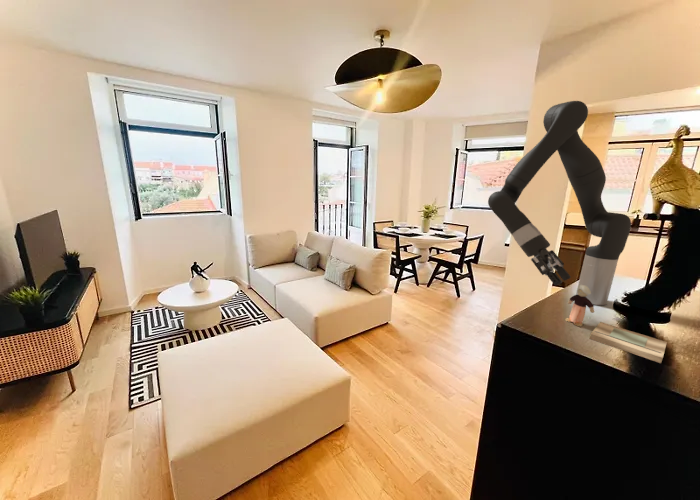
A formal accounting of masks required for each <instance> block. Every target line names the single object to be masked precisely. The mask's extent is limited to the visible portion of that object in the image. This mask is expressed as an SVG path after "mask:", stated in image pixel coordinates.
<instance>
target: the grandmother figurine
mask: <svg viewBox="0 0 700 500" xmlns="http://www.w3.org/2000/svg"><path fill="white" fill-rule="evenodd" d="M577 288H578V291H577V290H576V292H577V293H578V295H576V294H574V295H573V296H571V297H570V298H569V299H568V301H567V304H568V305H571V304H572V303H573V305H572V307H571V311H570V313H569V317H566V318H564V320H565V321H566V322H567V321H568V323H573V325H575V326H576V327H582V326H584V324H583V322H584V319H585V316H586V308H587V307H588V309H589V312H590V313H591V314H593V313H595V308H594V307H595V306H594V305H595V304H592V303H591V301H590V300H589V299H587V298H586V297H585V296H587V295H589V294H591V291H590V289H589V288H588V287H587V286H585V285H579V286H578V285H577Z"/></svg>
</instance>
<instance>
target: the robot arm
mask: <svg viewBox="0 0 700 500" xmlns="http://www.w3.org/2000/svg"><path fill="white" fill-rule="evenodd" d="M588 116H589V108H588V106H587V104H586V103H584V102H583V101H581V100H570V101H566V102H561V103H558V104H555V105H554V104H553V105H552V106H550V107H549V109H547V110H546V112H545V114H544V116H543V127H544V129H545V131H546V133H545V135H544V136H543V137H542V138H541V139H540V140H539V142H538V143H537V144H535V146H534V147H533V148H531V149H530V150H529V151H528V152H527V153H526V154H524V156H523V157H522V158H521V159H520V160H519V161H518V162H517V163H516V165H515V166H514V167H513V168H512V169H511V171H509V174H508V175H507V176H506V178H505V181H504V184H503V186H502V187H501V189H500V191H494V192H493V193H491V194H490V195H489V197H488V201H487V204H488V206H489V208H490V210H491V211H492V212H493V213H494V214H495V216H496V217H497V218H499V220H501V222H502V223H503V225H504V226H505V228H506V230H508V232H509V233H510V234H511V236H512V237H513V239H514V241H515V242H516V243H517V245H518V246H519V248H521V250H522V251H523V253H524V254H525V255H526V256H527V257H528V258H530V257H531V258H530V261H531V262H532V263H533V265H534V266H535V267H536V269H537V270H538V272H539V273H540V274H541V275H542V276H546V277H548V279H549V280H550V281H551V282H552V284H553V285H554V286H559V285H560V284H562V283H563V281H567V280H569V279H571V277H572V276H571V275H570V274H569V272H568V271H567V270H566V269H565V266H564V265H565V264H564V262H563V261H562V259H561V258H560V257H559V256H558V255H557V253H555V251H554V250H553V249H552V250H548V249H547V248H549V247H550V246H551V243H550V242H549V241H548V240H547V239H546V238H545V236H544V235H543V234H542V233H541V231H540V230H539V229H538V228H537V226H536V225H534V224H533V223H532V221H531V220H530V219H529V217H527V216H526V215H525V213H524V212H522V211H521V209H520V208H519V207H518V206H517V205H516V203H517V201H518V200H519V198H520V196H521V195H522V192H524V190H525V188H526V187H527V186H528V185H529V183H531V181H532V180H533V178H535V176H536V175H537V173H538V172H539V171H540V170H541V168H542V167H543V166H544V165H545V164H546V163H547V162H548V160H549V159H550V158H552V156H553V155H554V154H555V153H556V152H557V153H558V155H559V157H560V161H561V162H562V165H563V167H564V170H565V173H566V175H567V178H568V180H569V183H570V185H571V188H572V190H573V191H574V193H575V196H576V199H577V201H578V205H579V208H580V210H581V214H582V218H583V221H584V225H585V228H586V230H587V232H588V233H589V234H590V235H592V236H594V237H597V238H600V241H599V243H598V244H597V245H592V246H588V247H586V250H585V255H584V257H583V258H584V259H583V262H582V267H581V272H580V274H579V280H578V285H577V289H576V292H575V293H576V294H575V295H578V293H577V291H578V286H579V285H585V286H587V287H588V288H589V289H590V291H591V294H589V295H587V296H585V297H586V298H587V299H589V300H590V301H591V303H592V304H593V305H595V306H596V305H597V306H606V305H607V304H608V300H609V296H610V294H611V289H612V285H613V281H614V278H615V277H614V276H615V273H616V269H617V266H618V261H619V257H620V256H621V254H622V253H623V251H624V249H625V248H626V244H627V241H628V238H629V235H630V232H631V229H632V221H631V220H632V219H631V218H630V216H629V215H627V214H624V213H619V212H610V211H609V212H608V211H607V210H606V208H605V205H604V204H603V201H602V193H603V190H604V188H605V186H606V180H607V177H606V173H605V171H604V168H603V165H602V163H601V160H600V158H599V157H598V156H597V154H596V153H595V152H594V151H593V150H592V149H591V148H590V147H589V146H588V145H587V144H586V143H585V142H584V141H583V140H582V138H581V136H580V134H579V132H578V130H579V129H580V128H581V127H582V126H583V125H584V124H585V123H586V120H587V118H588ZM555 271H556V272H555ZM558 275H559V276H558Z"/></svg>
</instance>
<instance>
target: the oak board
mask: <svg viewBox="0 0 700 500" xmlns="http://www.w3.org/2000/svg"><path fill="white" fill-rule="evenodd" d="M589 340H593V341H595V342H598V343H601V344H605V345H606V346H609V347H613V348H616V349H618V350H621V351H624V352H626V353H630V354H633V355H636V356H639V357H641V358H645V359H646V360H650V361H653V362H656V363H659V364H662V361H663V358H664V354H665V351H666V347H667V344H668V342H667V341H665V340H661V339H658V338H655V337H652V336H649V335H645V334H641V333H639V332H635V331H631V330H628V329H625V328H622V327H619V326H615V325H612V324H608V323H606V322H602V321H600V322H599V323H598V324H597V326H596V327H595V328H594V329H593V330H592V332H591V333H590V335H589Z"/></svg>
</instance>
